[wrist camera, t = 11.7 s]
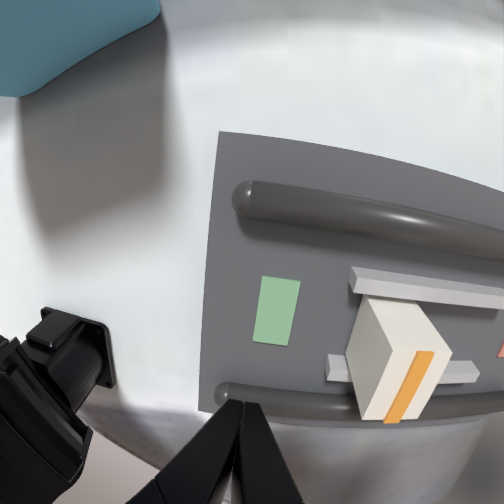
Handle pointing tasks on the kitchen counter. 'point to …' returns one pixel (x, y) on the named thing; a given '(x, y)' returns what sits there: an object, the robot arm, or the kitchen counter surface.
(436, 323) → the panel
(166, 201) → the kitchen counter surface
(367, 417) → the knob
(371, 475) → the kitchen counter surface
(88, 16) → the data package
